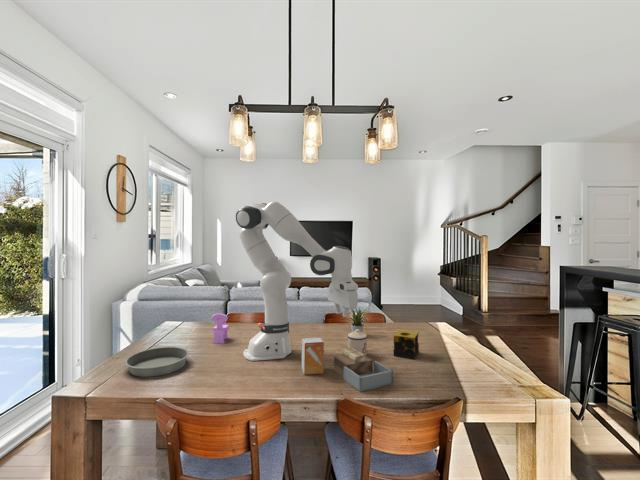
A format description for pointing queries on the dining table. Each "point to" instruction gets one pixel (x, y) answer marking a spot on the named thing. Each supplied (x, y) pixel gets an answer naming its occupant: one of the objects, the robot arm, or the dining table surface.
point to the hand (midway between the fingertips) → (341, 315)
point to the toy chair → (220, 328)
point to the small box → (312, 355)
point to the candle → (406, 344)
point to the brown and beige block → (353, 365)
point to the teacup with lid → (358, 341)
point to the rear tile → (347, 351)
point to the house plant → (358, 320)
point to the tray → (369, 378)
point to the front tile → (356, 357)
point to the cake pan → (156, 361)
